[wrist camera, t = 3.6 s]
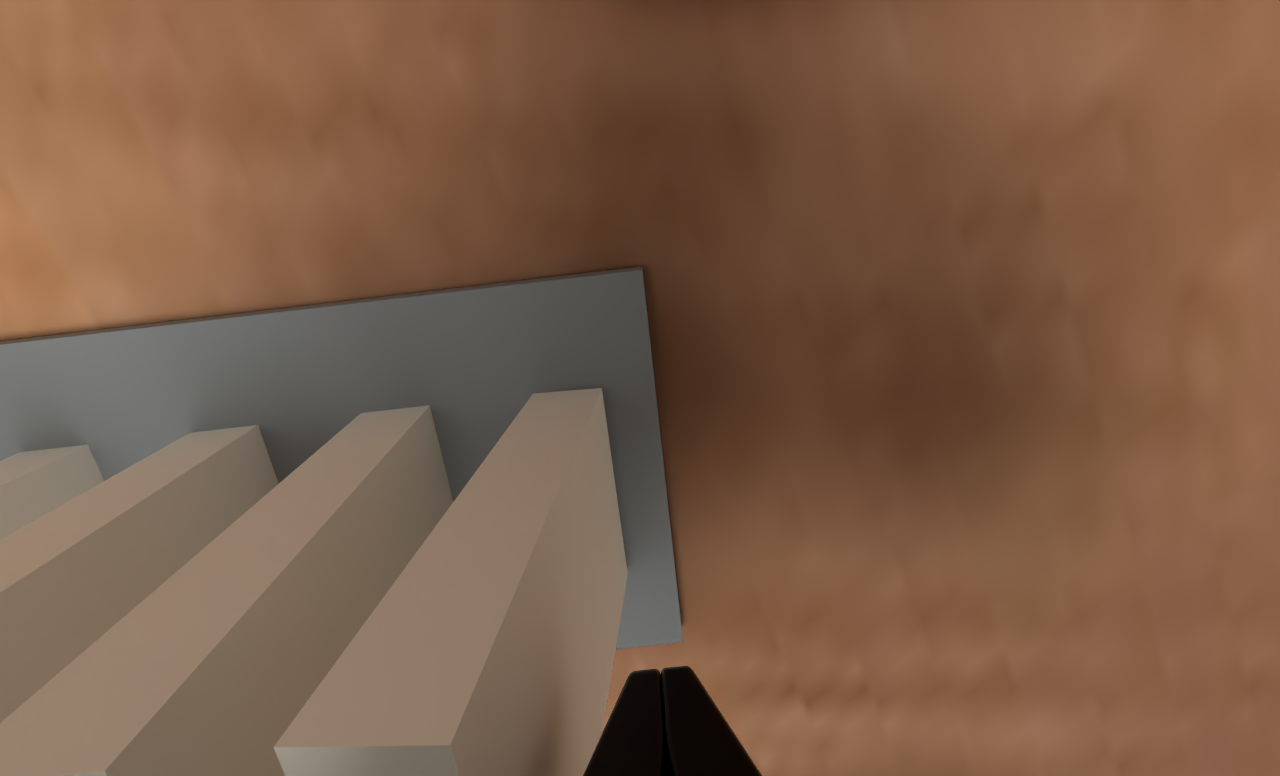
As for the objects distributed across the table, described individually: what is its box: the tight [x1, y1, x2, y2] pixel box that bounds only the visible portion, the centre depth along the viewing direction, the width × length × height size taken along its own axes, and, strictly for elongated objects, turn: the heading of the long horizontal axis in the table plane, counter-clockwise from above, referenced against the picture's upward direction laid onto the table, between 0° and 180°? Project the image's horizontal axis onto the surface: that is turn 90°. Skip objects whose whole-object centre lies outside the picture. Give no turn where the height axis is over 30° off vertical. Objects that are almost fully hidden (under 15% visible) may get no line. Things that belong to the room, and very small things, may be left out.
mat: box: [0, 266, 683, 649], centre depth 15 cm, size 26×10×1 cm, turn 96°
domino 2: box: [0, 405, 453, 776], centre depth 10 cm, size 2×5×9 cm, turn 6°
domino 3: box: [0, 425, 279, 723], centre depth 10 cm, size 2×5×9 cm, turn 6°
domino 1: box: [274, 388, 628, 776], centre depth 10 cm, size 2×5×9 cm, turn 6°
